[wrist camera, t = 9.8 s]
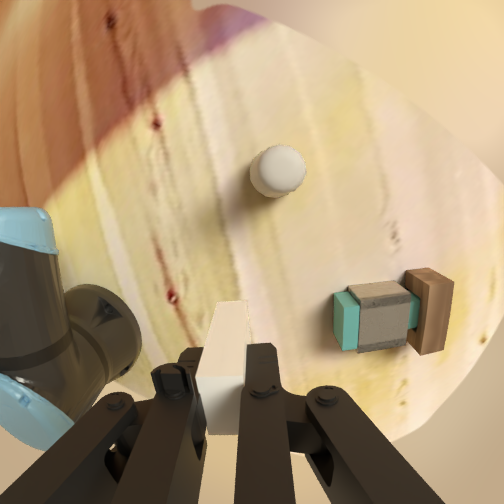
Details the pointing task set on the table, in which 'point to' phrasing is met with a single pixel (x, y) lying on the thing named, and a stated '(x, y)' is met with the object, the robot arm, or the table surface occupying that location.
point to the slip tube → (349, 318)
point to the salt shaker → (277, 171)
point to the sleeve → (381, 315)
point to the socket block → (430, 309)
